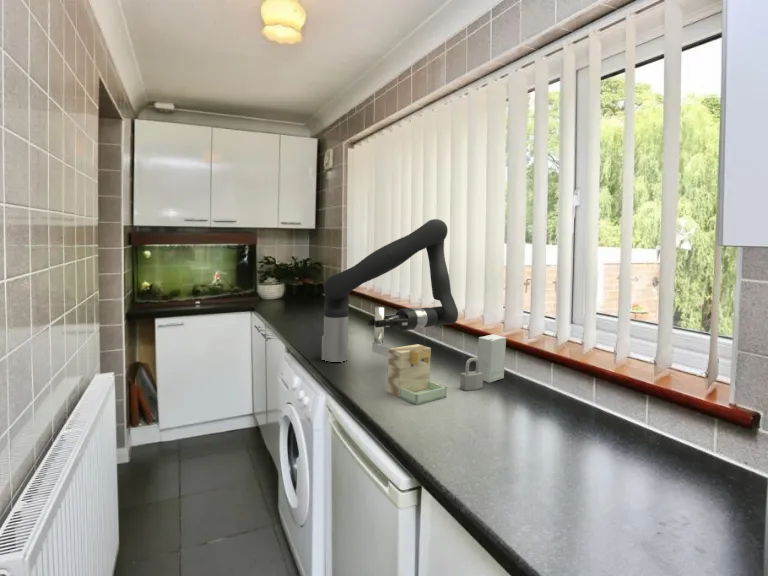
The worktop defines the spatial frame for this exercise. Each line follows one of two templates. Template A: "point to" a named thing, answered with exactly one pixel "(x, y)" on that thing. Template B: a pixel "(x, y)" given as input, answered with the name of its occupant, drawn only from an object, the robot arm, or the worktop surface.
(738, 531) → the worktop surface
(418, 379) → the bearing block
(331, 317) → the robot arm
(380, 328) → the crank handle
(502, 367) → the skincare box
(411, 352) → the spacer
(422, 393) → the tray
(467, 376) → the padlock
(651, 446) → the worktop surface
